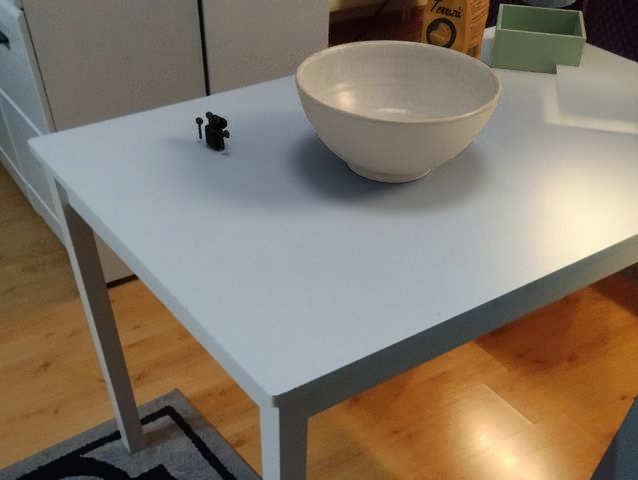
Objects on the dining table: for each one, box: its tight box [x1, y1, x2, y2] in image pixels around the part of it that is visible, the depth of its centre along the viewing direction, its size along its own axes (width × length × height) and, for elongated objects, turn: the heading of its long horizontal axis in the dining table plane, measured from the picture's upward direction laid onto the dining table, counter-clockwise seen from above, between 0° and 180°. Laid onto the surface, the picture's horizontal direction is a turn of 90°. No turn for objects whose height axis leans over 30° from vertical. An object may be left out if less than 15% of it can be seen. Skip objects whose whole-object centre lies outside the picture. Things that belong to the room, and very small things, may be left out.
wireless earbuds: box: [195, 111, 231, 151], centre depth 97 cm, size 7×2×5 cm, turn 48°
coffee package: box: [420, 0, 491, 61], centre depth 114 cm, size 10×12×22 cm
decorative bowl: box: [294, 40, 503, 184], centre depth 93 cm, size 27×27×12 cm
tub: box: [489, 3, 587, 75], centre depth 126 cm, size 15×15×6 cm
